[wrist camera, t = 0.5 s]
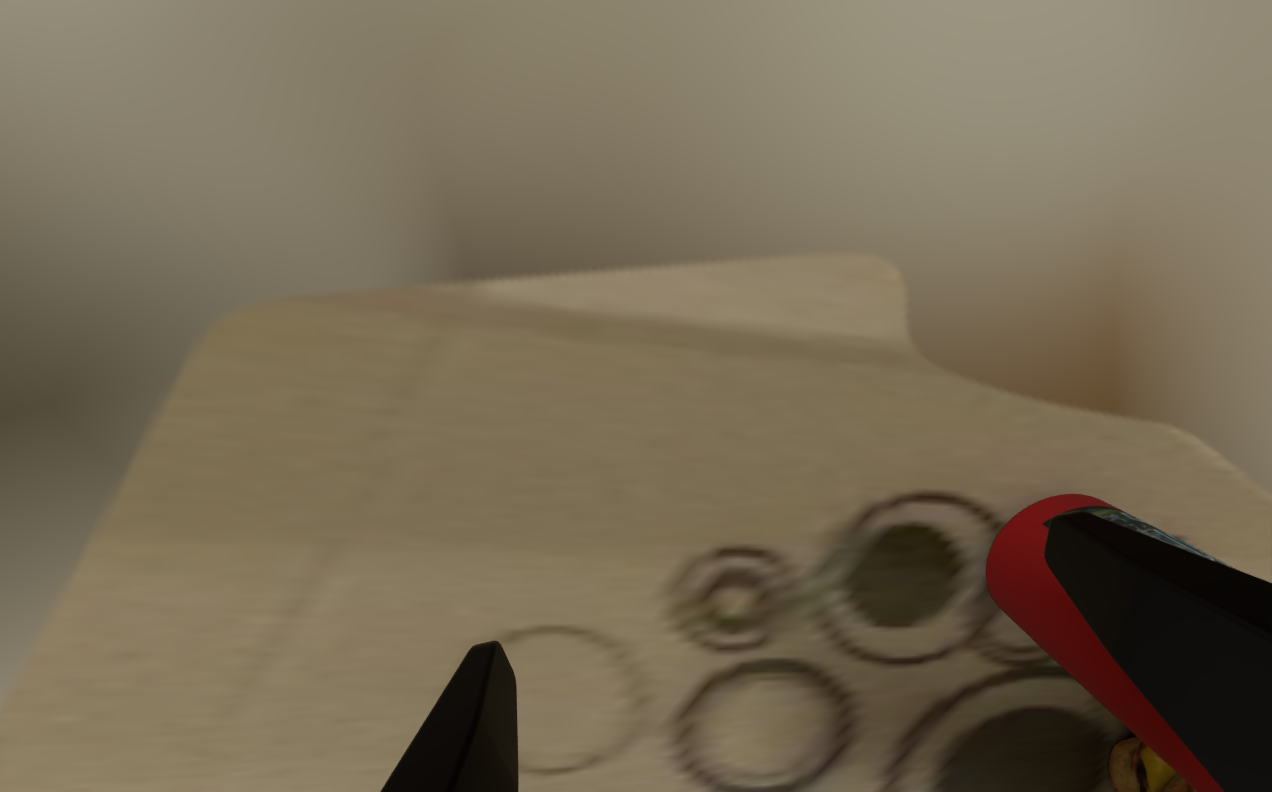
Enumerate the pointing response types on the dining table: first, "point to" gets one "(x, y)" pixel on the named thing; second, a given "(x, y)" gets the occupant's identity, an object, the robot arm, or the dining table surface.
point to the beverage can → (1081, 623)
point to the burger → (1142, 770)
